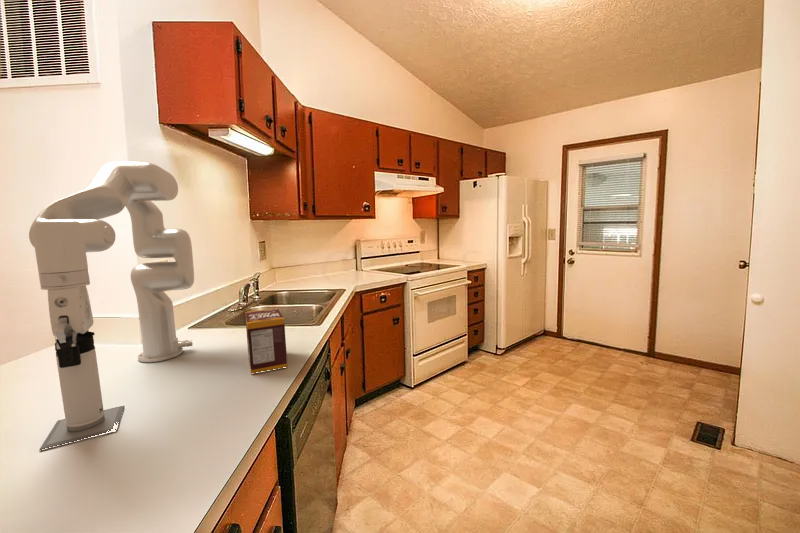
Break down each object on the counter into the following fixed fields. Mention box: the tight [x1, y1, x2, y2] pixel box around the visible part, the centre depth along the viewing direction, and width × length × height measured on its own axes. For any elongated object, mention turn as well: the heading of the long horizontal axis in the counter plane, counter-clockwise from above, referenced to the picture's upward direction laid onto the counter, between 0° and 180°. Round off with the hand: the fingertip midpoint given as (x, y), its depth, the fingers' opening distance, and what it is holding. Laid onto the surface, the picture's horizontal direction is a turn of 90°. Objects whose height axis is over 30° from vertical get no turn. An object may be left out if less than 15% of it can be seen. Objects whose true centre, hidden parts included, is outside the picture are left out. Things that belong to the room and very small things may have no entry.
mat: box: [39, 405, 125, 451], centre depth 78 cm, size 12×12×1 cm
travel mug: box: [54, 331, 105, 432], centre depth 77 cm, size 6×7×20 cm
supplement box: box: [244, 308, 288, 374], centre depth 111 cm, size 10×15×16 cm
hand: (76, 358), depth 76 cm, fingers open, 9 cm apart
